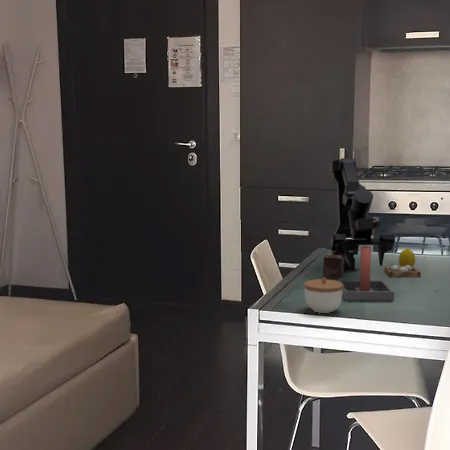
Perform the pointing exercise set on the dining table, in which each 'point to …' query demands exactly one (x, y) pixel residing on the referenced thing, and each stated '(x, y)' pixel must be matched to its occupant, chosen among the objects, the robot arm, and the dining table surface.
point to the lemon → (406, 258)
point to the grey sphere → (394, 268)
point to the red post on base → (365, 269)
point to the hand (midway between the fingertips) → (365, 265)
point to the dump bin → (367, 292)
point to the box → (333, 266)
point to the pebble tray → (402, 273)
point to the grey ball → (403, 269)
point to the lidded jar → (323, 294)
